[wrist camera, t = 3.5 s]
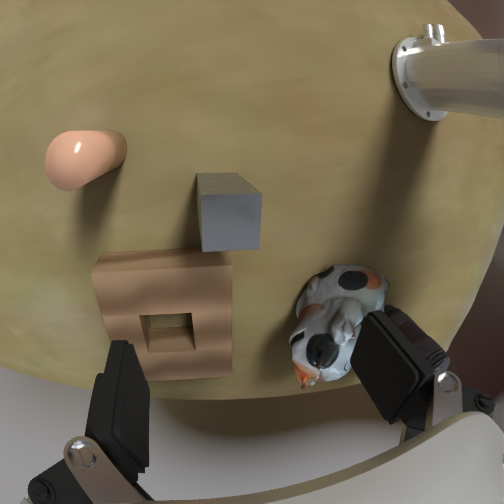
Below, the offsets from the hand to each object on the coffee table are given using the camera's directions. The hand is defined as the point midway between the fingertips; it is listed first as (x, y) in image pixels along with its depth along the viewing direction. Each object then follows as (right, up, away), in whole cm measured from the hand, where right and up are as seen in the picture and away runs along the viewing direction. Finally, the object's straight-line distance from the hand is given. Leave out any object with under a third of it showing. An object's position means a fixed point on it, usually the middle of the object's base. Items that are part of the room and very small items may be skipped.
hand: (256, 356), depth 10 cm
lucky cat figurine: (+10, -4, +27) cm, 29 cm away
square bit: (-4, +10, +17) cm, 20 cm away
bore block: (-10, -3, +22) cm, 24 cm away
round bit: (-14, +14, +13) cm, 24 cm away
